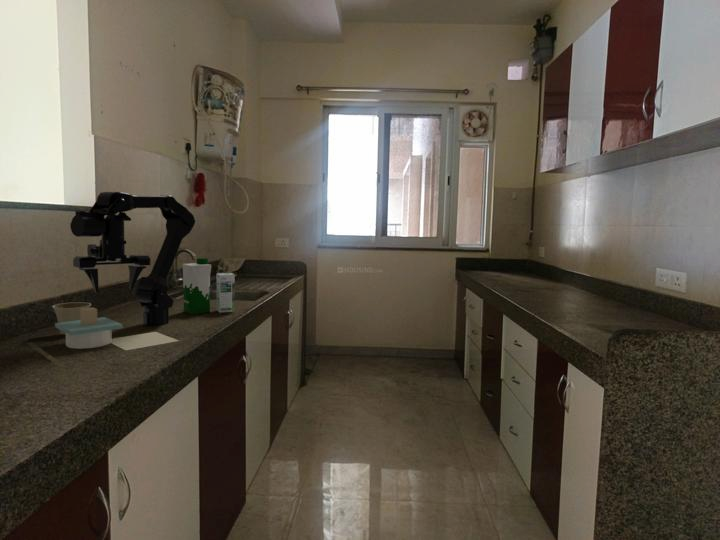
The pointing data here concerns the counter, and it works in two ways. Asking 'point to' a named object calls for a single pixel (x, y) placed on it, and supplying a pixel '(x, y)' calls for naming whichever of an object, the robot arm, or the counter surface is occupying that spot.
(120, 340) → the mat
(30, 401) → the counter surface
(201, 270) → the milk carton
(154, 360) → the counter surface
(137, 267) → the robot arm
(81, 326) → the lid
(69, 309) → the flower pot
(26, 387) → the counter surface
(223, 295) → the syrup box
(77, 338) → the bowl
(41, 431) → the counter surface
